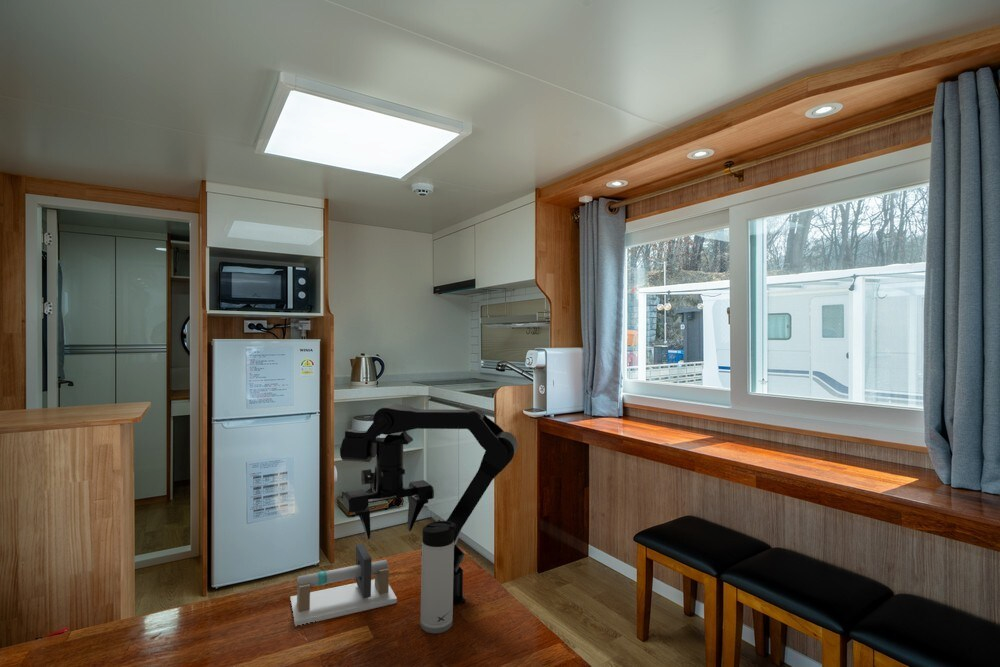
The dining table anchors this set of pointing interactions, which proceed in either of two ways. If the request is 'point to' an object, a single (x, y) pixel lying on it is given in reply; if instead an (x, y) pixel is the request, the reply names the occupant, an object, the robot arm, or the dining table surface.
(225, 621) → the dining table surface
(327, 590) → the pipe stand
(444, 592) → the travel mug
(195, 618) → the dining table surface
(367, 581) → the dark grey flat block
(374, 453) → the robot arm
